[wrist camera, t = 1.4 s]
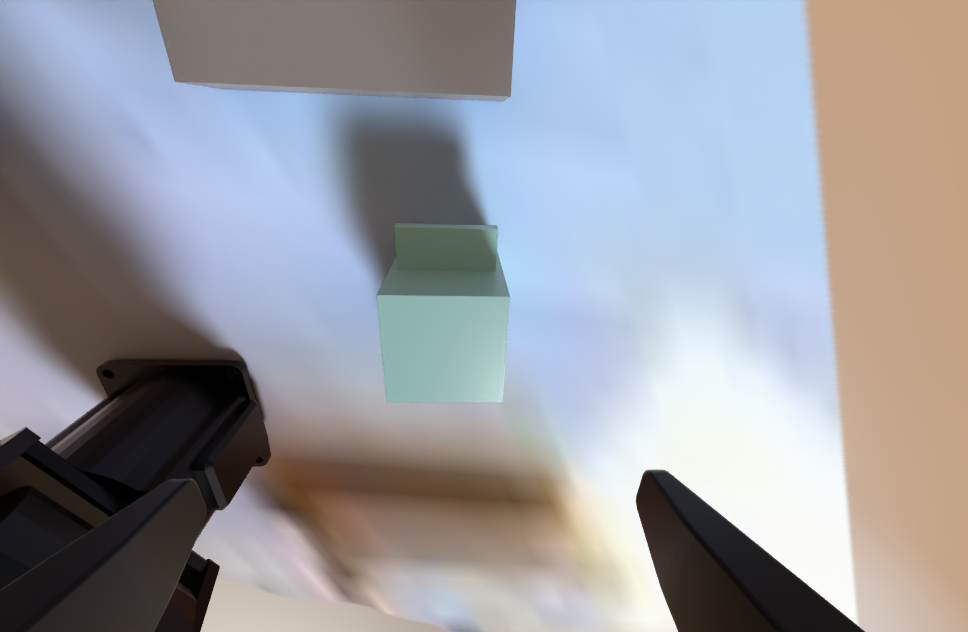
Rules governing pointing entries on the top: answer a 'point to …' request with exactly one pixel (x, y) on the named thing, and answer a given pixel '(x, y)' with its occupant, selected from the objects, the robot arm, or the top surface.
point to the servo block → (444, 315)
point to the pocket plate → (343, 46)
